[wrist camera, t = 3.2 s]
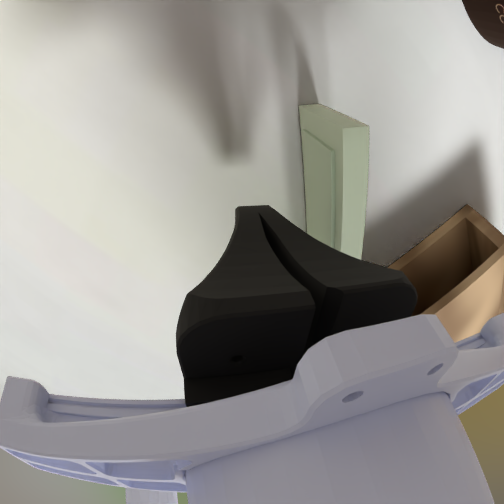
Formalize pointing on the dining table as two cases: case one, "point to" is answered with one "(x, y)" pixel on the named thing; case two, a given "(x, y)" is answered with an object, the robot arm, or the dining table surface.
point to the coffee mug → (487, 19)
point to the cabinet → (458, 273)
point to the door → (335, 177)
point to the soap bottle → (150, 497)
